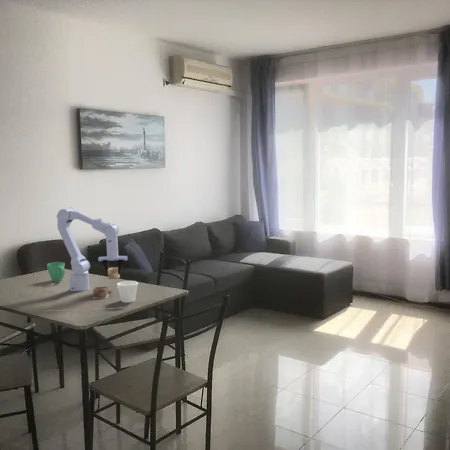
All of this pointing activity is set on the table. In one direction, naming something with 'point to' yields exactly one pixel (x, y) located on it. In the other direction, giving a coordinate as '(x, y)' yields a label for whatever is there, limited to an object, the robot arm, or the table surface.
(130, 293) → the cup
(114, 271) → the oak cube
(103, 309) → the table surface
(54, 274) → the mug
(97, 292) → the walnut block
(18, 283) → the table surface
